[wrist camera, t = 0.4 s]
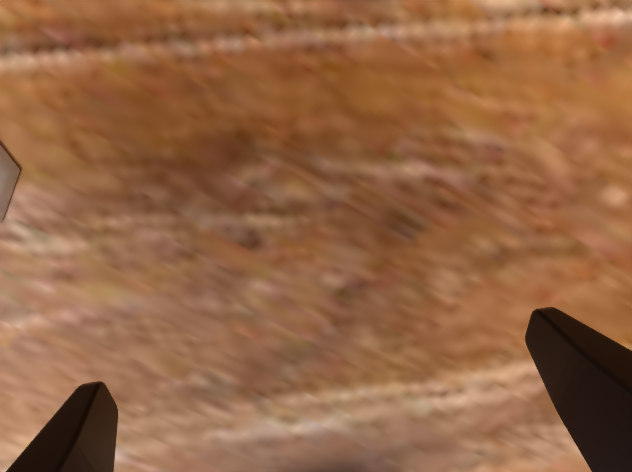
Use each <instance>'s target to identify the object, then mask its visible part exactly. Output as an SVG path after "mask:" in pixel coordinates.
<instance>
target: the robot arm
mask: <svg viewBox="0 0 632 472" xmlns="http://www.w3.org/2000/svg"><path fill="white" fill-rule="evenodd" d="M525 340H526V345H527V347H528V350H529V352H530V354H531V356H532V358H533V361H534V363H535V365H536V367H537V369H538V372H539V374H540V376H541V378H542V380H543V383H544V385H545V387H546V389H547V391H548V394H549V396H550V398H551V400H552V402H553V404H554V406H555V408H556V410H557V412H558V414H559V416H560V418H561V419H562V421H563V423H564V425H565V426H566V428H567V430H568V431H569V433H570V435H571V437H572V438H573V440H574V442H575V443H576V445H577V447H578V449H579V450H580V452H581V454H582V455H583V457H584V459H585V460H586V462H587V464H588V466H589V467H590V469H591V471H592V472H632V351H631V350H629V349H627V348H626V347H624V346H622V345H620V344H619V343H617V342H615V341H613V340H612V339H610V338H608V337H606V336H604V335H603V334H601V333H599V332H597V331H596V330H594V329H592V328H590V327H589V326H587V325H585V324H583V323H581V322H580V321H578V320H576V319H574V318H573V317H571V316H569V315H567V314H566V313H564V312H562V311H560V310H558V309H556V308H554V307H546V308H540V309H536V310H534V311H533V312H532V314H531V317H530V321H529V324H528V328H527V331H526V335H525ZM117 423H118V409H117V405H116V403H115V401H114V399H113V398H112V396H111V394H110V392H109V390H108V388H107V387H106V385H105V384H104V383H103V382H101V381H98V382H92V383H86V384H82V385H80V386H79V387H78V388H77V389H76V390H75V391H74V392H73V393H72V395H71V396H70V397H69V398H68V399H67V400H66V402H65V403H64V404H63V405H62V406H61V408H60V409H59V410H58V411H57V412H56V413H55V415H54V416H53V417H52V418H51V419H50V420H49V422H48V423H47V424H46V425H45V426H44V427H43V429H42V430H41V431H40V432H39V433H38V435H37V436H36V437H35V438H34V439H33V440H32V442H31V443H30V444H29V445H28V446H27V447H26V449H25V450H24V451H23V452H22V453H21V455H20V456H19V457H18V458H17V459H16V460H15V462H14V463H13V464H12V465H11V466H10V467H9V469H8V470H7V471H6V472H113V471H114V459H115V447H116V435H117Z"/></svg>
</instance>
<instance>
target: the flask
mask: <svg viewBox="0 0 632 472" xmlns="http://www.w3.org/2000/svg"><path fill="white" fill-rule="evenodd" d="M19 172H20V169H19V168H18V167H17V165H16V164H15V163H14V162H13V160H12V159H11V158H10V156H9V155H8V154H7V153H6V151H5V150H4V149H3V147H2V146H1V145H0V223H1V222H2V221H3V218H4V215H5V212H6V209H7V206H8V204H9V201H10V198H11V195H12V192H13V189H14V186H15V183H16V180H17V178H18V175H19Z"/></svg>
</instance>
